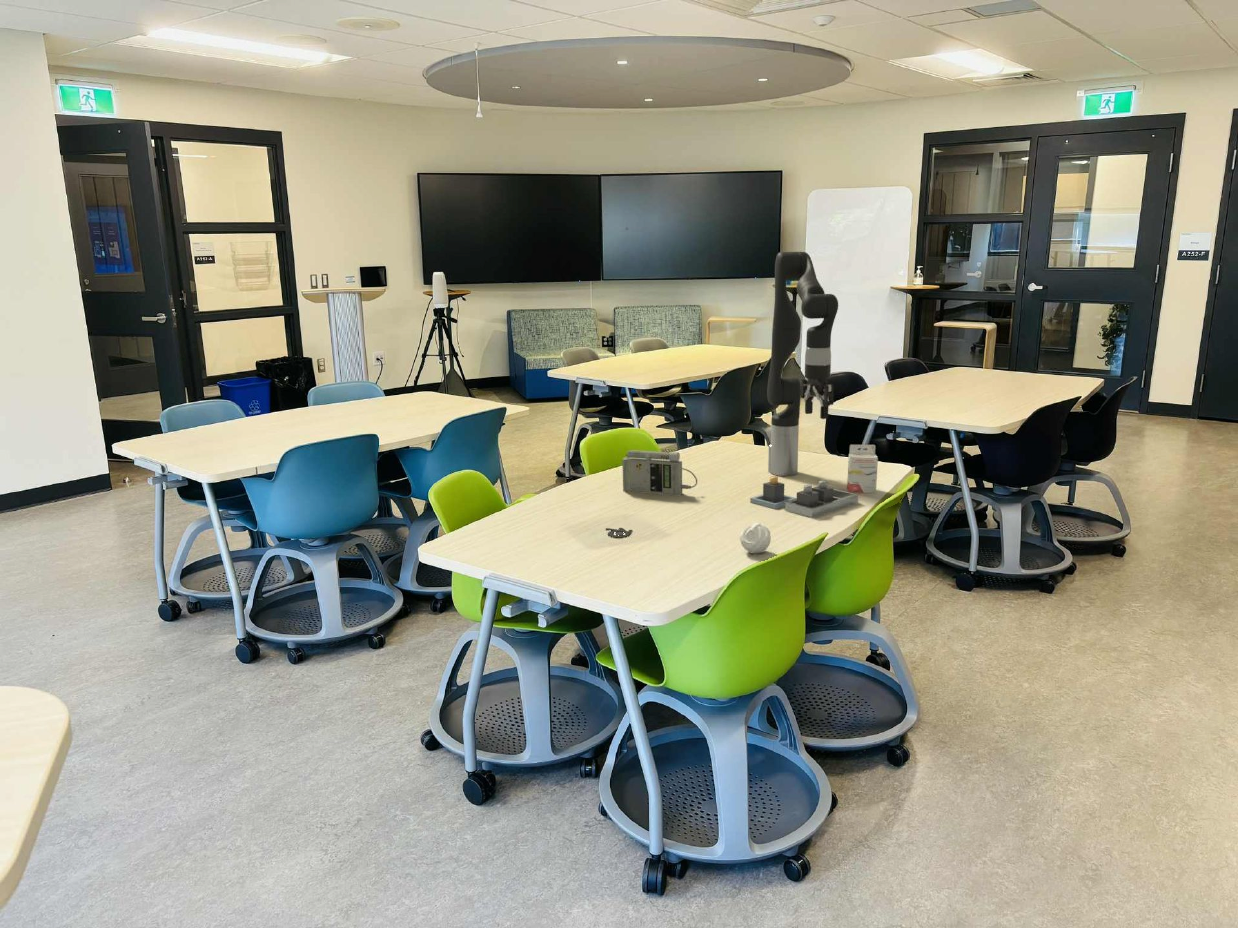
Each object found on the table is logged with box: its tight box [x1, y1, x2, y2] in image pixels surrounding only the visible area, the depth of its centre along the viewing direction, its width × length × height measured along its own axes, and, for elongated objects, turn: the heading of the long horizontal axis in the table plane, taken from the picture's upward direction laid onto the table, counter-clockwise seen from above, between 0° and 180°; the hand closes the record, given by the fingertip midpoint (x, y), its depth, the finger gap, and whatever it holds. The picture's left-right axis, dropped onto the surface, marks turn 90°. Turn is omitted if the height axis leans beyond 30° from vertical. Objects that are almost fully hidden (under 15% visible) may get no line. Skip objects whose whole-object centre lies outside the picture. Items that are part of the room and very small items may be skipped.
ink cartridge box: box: [846, 444, 879, 494], centre depth 288 cm, size 9×5×15 cm, turn 84°
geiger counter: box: [621, 449, 698, 497], centre depth 292 cm, size 14×6×25 cm
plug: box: [762, 475, 785, 503], centre depth 277 cm, size 4×4×8 cm
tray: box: [749, 494, 797, 510], centre depth 278 cm, size 10×10×2 cm
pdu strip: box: [784, 488, 859, 519], centre depth 272 cm, size 10×22×3 cm, turn 130°
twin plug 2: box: [812, 480, 834, 503], centre depth 271 cm, size 4×4×8 cm
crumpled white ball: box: [739, 522, 772, 554], centre depth 235 cm, size 8×8×8 cm
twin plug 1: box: [796, 484, 819, 508], centre depth 267 cm, size 4×4×8 cm
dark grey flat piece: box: [605, 527, 633, 539], centre depth 254 cm, size 9×8×1 cm
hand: (816, 416), depth 272 cm, fingers open, 8 cm apart
